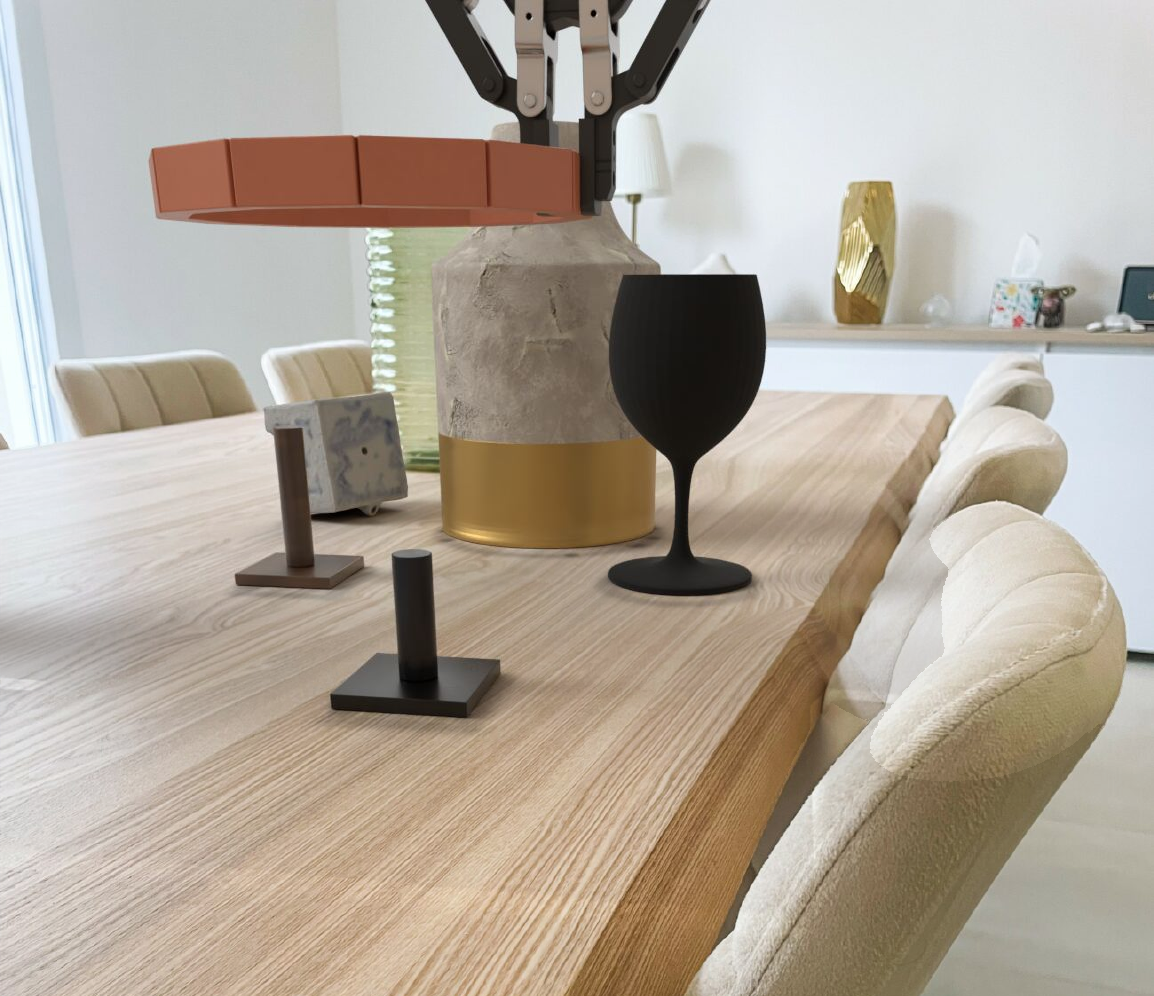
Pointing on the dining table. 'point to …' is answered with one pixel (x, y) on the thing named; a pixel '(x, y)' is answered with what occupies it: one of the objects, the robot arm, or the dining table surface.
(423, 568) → the metal post
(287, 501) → the walnut post
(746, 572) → the wine glass
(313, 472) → the incense holder
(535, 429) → the vase
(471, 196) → the ring
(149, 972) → the dining table surface
